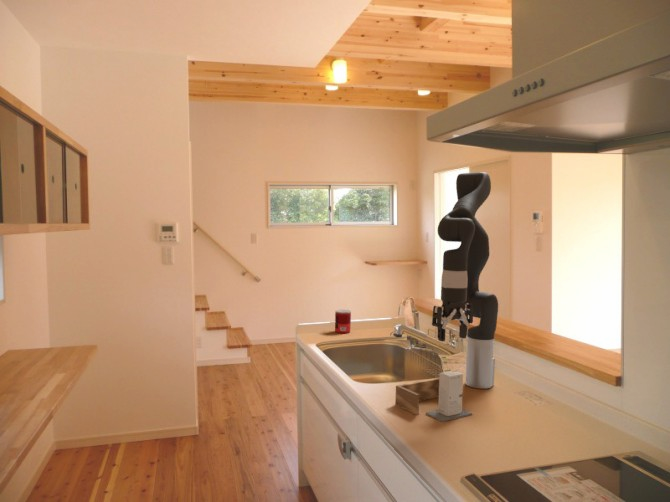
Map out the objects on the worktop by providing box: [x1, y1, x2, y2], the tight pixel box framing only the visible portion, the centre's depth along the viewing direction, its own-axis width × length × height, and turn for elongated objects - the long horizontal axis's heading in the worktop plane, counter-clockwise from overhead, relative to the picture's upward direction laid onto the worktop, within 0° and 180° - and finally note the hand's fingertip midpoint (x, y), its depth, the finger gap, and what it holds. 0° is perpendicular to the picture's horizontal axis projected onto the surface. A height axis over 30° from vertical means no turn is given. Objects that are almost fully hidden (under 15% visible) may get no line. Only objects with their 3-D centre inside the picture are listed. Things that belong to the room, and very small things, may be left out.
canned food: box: [334, 309, 352, 335], centre depth 272 cm, size 8×8×11 cm
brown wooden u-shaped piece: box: [394, 377, 439, 416], centre depth 169 cm, size 18×10×6 cm, turn 122°
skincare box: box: [437, 370, 464, 416], centre depth 160 cm, size 6×4×12 cm
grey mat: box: [425, 408, 473, 423], centre depth 161 cm, size 12×7×1 cm, turn 122°
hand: (452, 339), depth 159 cm, fingers open, 8 cm apart
